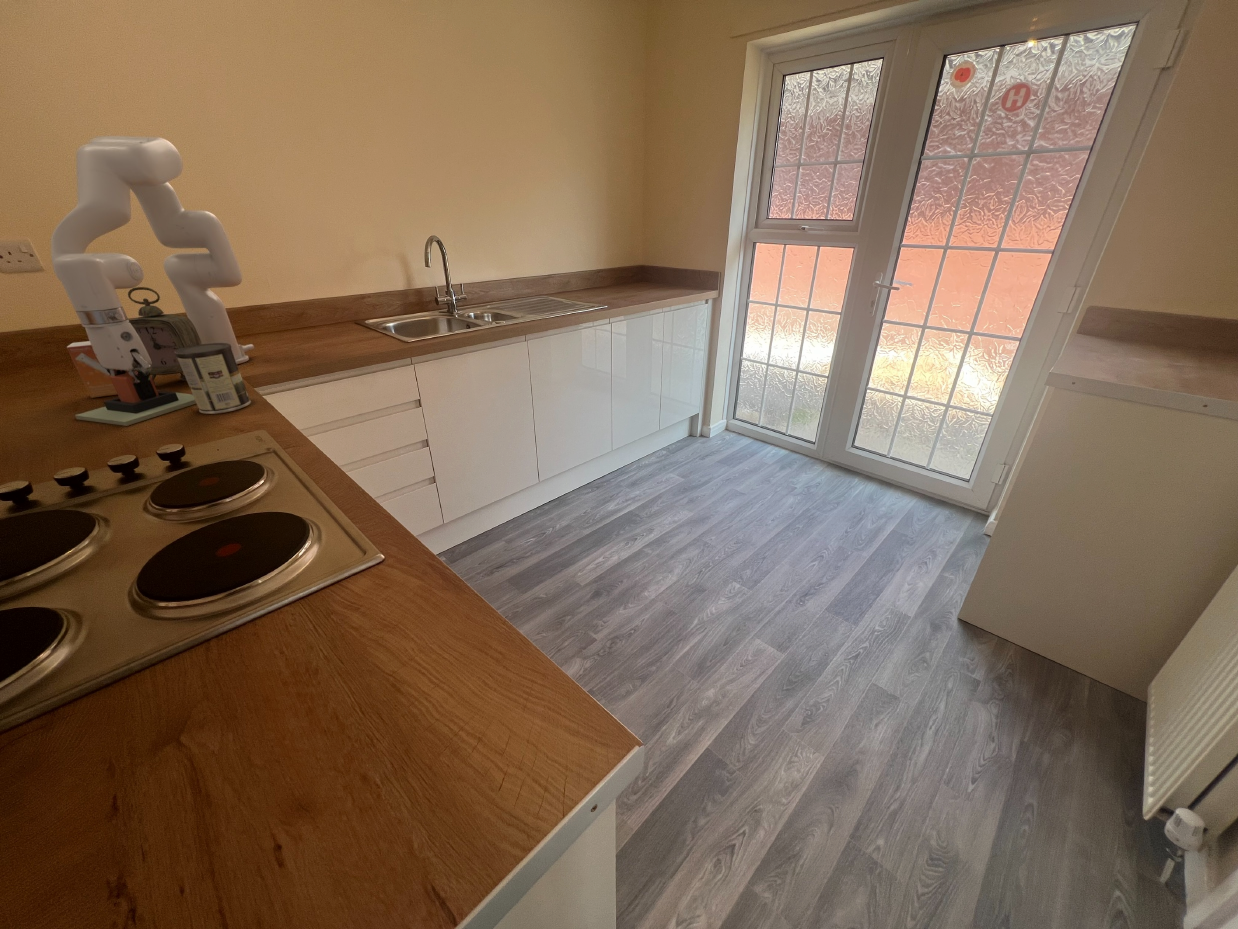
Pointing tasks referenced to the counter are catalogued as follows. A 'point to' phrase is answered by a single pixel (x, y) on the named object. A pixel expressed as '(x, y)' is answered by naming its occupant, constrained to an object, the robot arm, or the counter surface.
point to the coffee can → (213, 377)
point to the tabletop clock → (163, 336)
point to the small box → (91, 370)
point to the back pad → (138, 409)
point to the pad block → (127, 388)
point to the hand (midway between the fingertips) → (139, 396)
